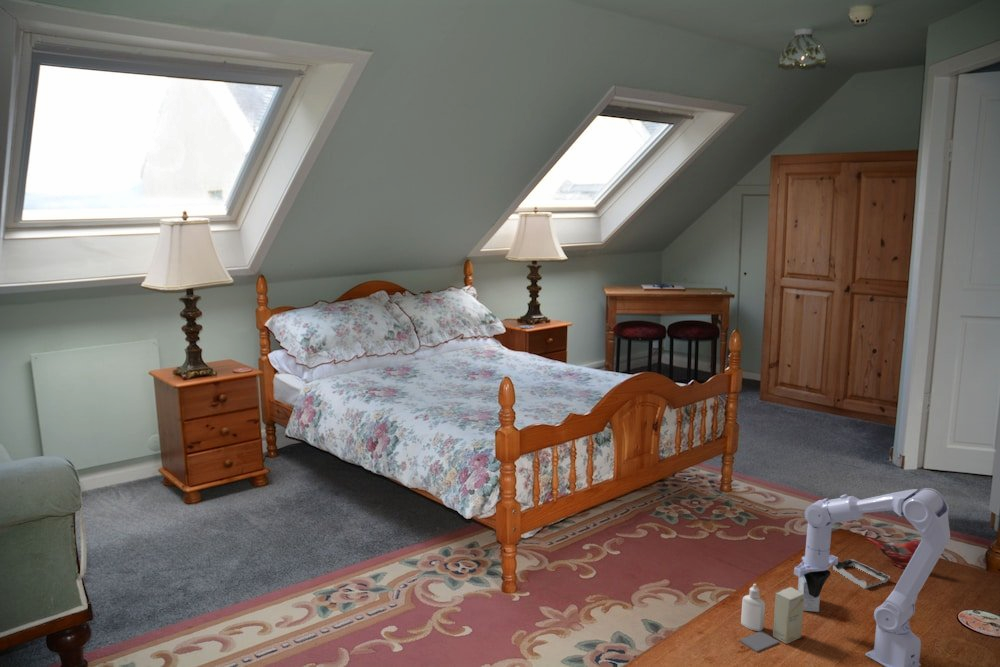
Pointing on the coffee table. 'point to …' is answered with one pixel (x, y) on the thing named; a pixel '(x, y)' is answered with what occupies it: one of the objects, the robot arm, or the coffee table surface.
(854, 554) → the coffee table surface
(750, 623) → the eye dropper bottle
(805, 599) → the medicine box
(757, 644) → the mat
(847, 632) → the coffee table surface
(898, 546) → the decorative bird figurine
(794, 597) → the skincare box
